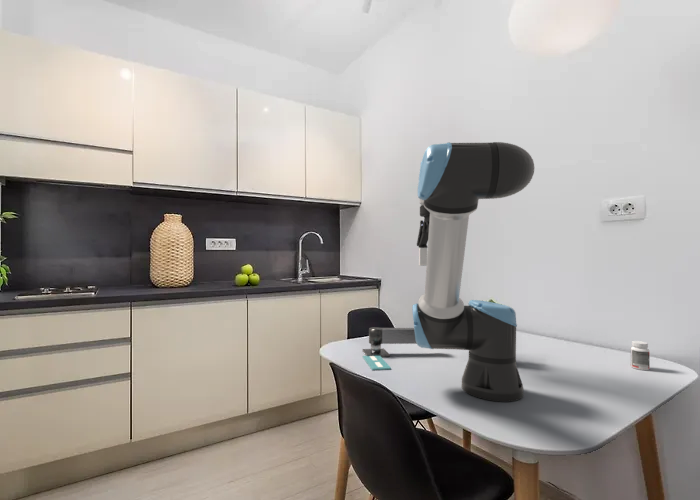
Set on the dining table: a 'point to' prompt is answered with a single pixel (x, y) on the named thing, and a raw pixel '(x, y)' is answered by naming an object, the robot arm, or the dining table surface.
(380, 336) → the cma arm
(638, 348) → the pill bottle
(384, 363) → the label
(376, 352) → the grey square stand
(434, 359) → the dining table surface
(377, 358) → the label
